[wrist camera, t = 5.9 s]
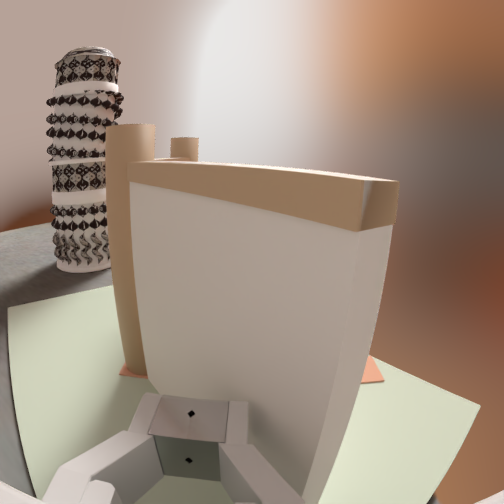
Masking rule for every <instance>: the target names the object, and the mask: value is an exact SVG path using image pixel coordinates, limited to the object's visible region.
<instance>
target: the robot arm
mask: <svg viewBox="0 0 504 504" xmlns="http://www.w3.org/2000/svg"><path fill="white" fill-rule="evenodd" d="M248 407H249V403H248V401H230V402H229V401H224V400H207V399H194V398H185V397H178V396H170V395H160V394H154V393H148V392H146V393H145V394H144V395H143V396H142V399H141V401H140V403H139V406H138V408H137V410H136V413H135V415H134V417H133V420H132V422H131V425H130V427H129V429H128V431H125V430H122V431H121V432H119V433H117V434H116V435H114V436H112V437H111V438H109V439H107V440H105V441H104V442H102V443H100V444H99V445H97V446H95V447H93V448H92V449H90V450H88V451H86V452H85V453H83V454H81V455H79V456H78V457H76V458H74V459H72V460H70V461H69V462H67V463H65V464H63V465H61V466H59V468H58V470H57V472H56V474H55V476H54V478H53V479H52V481H51V483H50V485H49V487H48V489H47V491H46V493H45V495H44V497H43V499H42V501H41V500H38V499H36V498H34V497H32V496H30V495H27V494H25V493H23V492H21V491H19V490H17V489H15V488H13V487H11V486H9V485H7V484H5V483H4V482H2V481H0V504H134V503H135V502H136V501H138V500H139V499H140V498H141V497H142V496H143V495H144V494H146V493H147V492H148V491H149V490H150V489H151V488H152V487H153V486H154V485H156V484H157V483H158V482H159V481H160V480H161V479H162V478H163V477H164V475H167V476H175V477H184V478H194V479H202V480H210V481H220V482H221V484H222V486H223V487H224V489H225V490H226V492H227V494H228V495H229V497H230V498H231V500H232V501H233V503H234V504H305V501H304V500H303V499H302V498H301V497H300V496H299V495H298V494H297V493H296V492H295V490H294V489H293V488H292V487H291V486H290V485H289V484H288V483H287V482H286V481H285V480H284V479H283V478H282V477H281V476H280V474H279V473H278V472H277V471H276V470H275V469H274V468H273V467H272V466H271V465H270V463H269V462H268V461H267V460H266V459H265V458H264V457H263V455H262V454H261V453H260V452H259V451H258V450H257V449H256V447H255V446H254V445H251V444H248ZM475 504H504V490H503V491H501V492H499V493H497V494H495V495H493V496H491V497H488V498H486V499H484V500H482V501H480V502H477V503H475Z"/></svg>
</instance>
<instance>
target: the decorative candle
mask: <svg viewBox="0 0 504 504" xmlns="http://www.w3.org/2000/svg"><path fill="white" fill-rule="evenodd" d="M120 64H121V62H120V61H119V60H118V59H116V58H115V57H114V55H113V54H112V53H111V52H110V51H109V50H107V49H105V48H101V47H83V48H77V49H75V50H72V51H70V52H68V53H67V54H66V55H65V56H64V57H63V59H62V60H60V61H59V62H57V63H56V64H55V69H57V76H56V86H55V89H54V92H53V98H51V99H48V100H47V102H46V103H47V105H49V106H51V105H52V106H54V105H55V113H54V115H53V114H51V115H50V116H48V117H47V120H46V121H47V122H48V123H50V124H54V128H53V127H52V128H50V129H49V130H48V131H47V132H46V134H47V136H50V137H52V138H53V140H54V141H53V144H52V145H51V146H49V147H48V149H47V153H48V154H50V155H53V158H52V159H51V160H49V166H52V167H53V168H52V170H53V191H52V202H53V204H54V206H53V207H52V208H51V209H50V212H51V213H52V214H53V215H55V216H56V218H55V219H54V220H53V221H52V223H51V225H52V226H53V227H54V228H55V229H57V231H56V233H55V234H54V236H53V243H54V244H55V245H56V246H57V247H56V248H55V250H54V254H55V256H56V257H57V258H59V259H57V268H59V269H60V270H62V271H66V272H70V273H87V272H94V271H100V270H103V269H106V268H110V267H111V261H110V251H109V239H108V225H107V206H106V173H105V147H106V127H108V126H113V125H118V123H116V122H115V121H114V120H115V119H116V118H118V117H120V115H121V113H122V111H123V110H122V109H121V108H120V107H119V105H120V104H121V102H122V101H123V99H124V97H123V96H122V95H121V93H118V86H117V80H118V69H119V68H118V67H119V65H120ZM114 112H115V114H114Z"/></svg>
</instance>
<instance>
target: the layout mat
mask: <svg viewBox="0 0 504 504" xmlns="http://www.w3.org/2000/svg"><path fill="white" fill-rule="evenodd" d="M8 343H9V359H10V371H11V380H12V389H13V397H14V403H15V410H16V416H17V422H18V427H19V432H20V437H21V442H22V446H23V450H24V455H25V459H26V462H27V466H28V470H29V474H30V477H31V481H32V484H33V487H34V490H35V493H36V497H37V499H38V500H41V501H42V499H43V497H44V495H45V493H46V491H47V489H48V487H49V485H50V483H51V481H52V479H53V478H54V476H55V474H56V472H57V470H58V468H59V466H61V465H63V464H65V463H67V462H69V461H70V460H72V459H74V458H76V457H78V456H79V455H81V454H83V453H85V452H86V451H88V450H90V449H92V448H93V447H95V446H97V445H99V444H100V443H102V442H104V441H105V440H107V439H109V438H111V437H112V436H114V435H116V434H117V433H119V432H121V431H122V430H125V431H128V429H129V427H130V425H131V422H132V420H133V417H134V415H135V413H136V410H137V408H138V406H139V403H140V401H141V399H142V396H143V395H144V394H145V393H146V392H148V393H154V394H159V393H158V391H157V390H156V389H155V387H154V386H153V385H152V383H151V382H150V381H149V379H148V376H141V375H136V374H133V373H131V372H130V371H129V370H128V369H127V367H126V362H125V357H124V352H123V346H122V341H121V335H120V329H119V323H118V317H117V310H116V303H115V296H114V288H113V285H111V286H106V287H102V288H97V289H92V290H88V291H83V292H78V293H74V294H69V295H64V296H60V297H55V298H50V299H46V300H41V301H36V302H32V303H27V304H22V305H18V306H13V307H8ZM479 408H480V405H478V404H476V403H473V402H471V401H469V400H466V399H464V398H461V397H459V396H457V395H455V394H452V393H450V392H448V391H446V390H443V389H441V388H439V387H437V386H435V385H432V384H430V383H428V382H426V381H424V380H421V379H419V378H417V377H415V376H413V375H410V374H408V373H406V372H404V371H401V370H400V369H397V368H395V367H393V366H391V365H389V364H387V363H385V362H382V361H380V360H378V359H376V358H374V357H372V356H370V355H368V358H367V362H366V366H365V370H364V373H363V377H362V381H361V384H360V388H359V391H358V395H357V398H356V401H355V404H354V408H353V411H352V414H351V417H350V420H349V423H348V426H347V429H346V432H345V435H344V438H343V441H342V444H341V447H340V449H339V452H338V455H337V458H336V460H335V463H334V466H333V468H332V471H331V473H330V476H329V478H328V481H327V483H326V486H325V488H324V491H323V493H322V495H321V498H320V500H319V502H318V504H426V503H427V502H428V501H429V499H430V498H431V496H432V495H433V493H434V492H435V490H436V488H437V487H438V485H439V484H440V482H441V481H442V479H443V477H444V476H445V474H446V472H447V471H448V469H449V467H450V466H451V464H452V462H453V460H454V459H455V457H456V455H457V453H458V451H459V449H460V447H461V446H462V444H463V442H464V440H465V438H466V436H467V434H468V432H469V430H470V428H471V426H472V424H473V422H474V419H475V417H476V415H477V413H478V411H479ZM134 504H234V503H233V501H232V500H231V498H230V497H229V495H228V494H227V492H226V490H225V489H224V487H223V486H222V484H221V482H220V481H210V480H202V479H194V478H184V477H175V476H167V475H164V477H163V478H162V479H161V480H160V481H159V482H158V483H157V484H156V485H154V486H153V487H152V488H151V489H150V490H149V491H148V492H147V493H146V494H144V495H143V496H142V497H141V498H140V499H139V500H138V501H136V502H135V503H134Z"/></svg>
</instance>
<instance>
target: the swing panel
mask: <svg viewBox="0 0 504 504" xmlns="http://www.w3.org/2000/svg"><path fill="white" fill-rule="evenodd" d="M127 181H129V182H130V217H131V237H132V252H133V265H134V277H135V287H136V297H137V305H138V314H139V322H140V329H141V337H142V343H143V350H144V356H145V363H146V369H147V374H148V379H149V381H150V382H151V383H152V385H153V386H154V387H155V389H156V390H157V391H158V393H159V394H160V395H170V396H178V397H185V398H194V399H207V400H224V401H229V402H230V401H248V403H249V407H248V444H251V445H254V446H255V447H256V449H257V450H258V451H259V452H260V453H261V454H262V455H263V457H264V458H265V459H266V460H267V461H268V462H269V463H270V465H271V466H272V467H273V468H274V469H275V470H276V471H277V472H278V473H279V474H280V476H281V477H282V478H283V479H284V480H285V481H286V482H287V483H288V484H289V485H290V486H291V487H292V488H293V489H294V490H295V492H296V493H297V494H298V495H299V496H300V497H301V498H302V499H303V500H304V501H305V504H318V502H319V500H320V498H321V495H322V493H323V491H324V488H325V486H326V483H327V481H328V478H329V476H330V473H331V471H332V468H333V466H334V463H335V460H336V458H337V455H338V452H339V449H340V447H341V444H342V441H343V438H344V435H345V432H346V429H347V426H348V423H349V420H350V417H351V414H352V411H353V408H354V404H355V401H356V398H357V395H358V391H359V388H360V384H361V381H362V377H363V373H364V370H365V366H366V362H367V358H368V354H369V350H370V346H371V342H372V338H373V334H374V329H375V325H376V320H377V316H378V311H379V306H380V301H381V296H382V291H383V285H384V280H385V274H386V268H387V262H388V256H389V249H390V242H391V235H392V228H393V227H392V226H393V224H395V221H396V213H397V203H398V194H399V183H400V182H399V181H392V180H386V179H379V178H373V177H366V176H359V175H351V174H343V173H335V172H327V171H317V170H308V169H298V168H288V167H275V166H263V165H250V164H233V163H214V162H190V161H141V162H127Z"/></svg>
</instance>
